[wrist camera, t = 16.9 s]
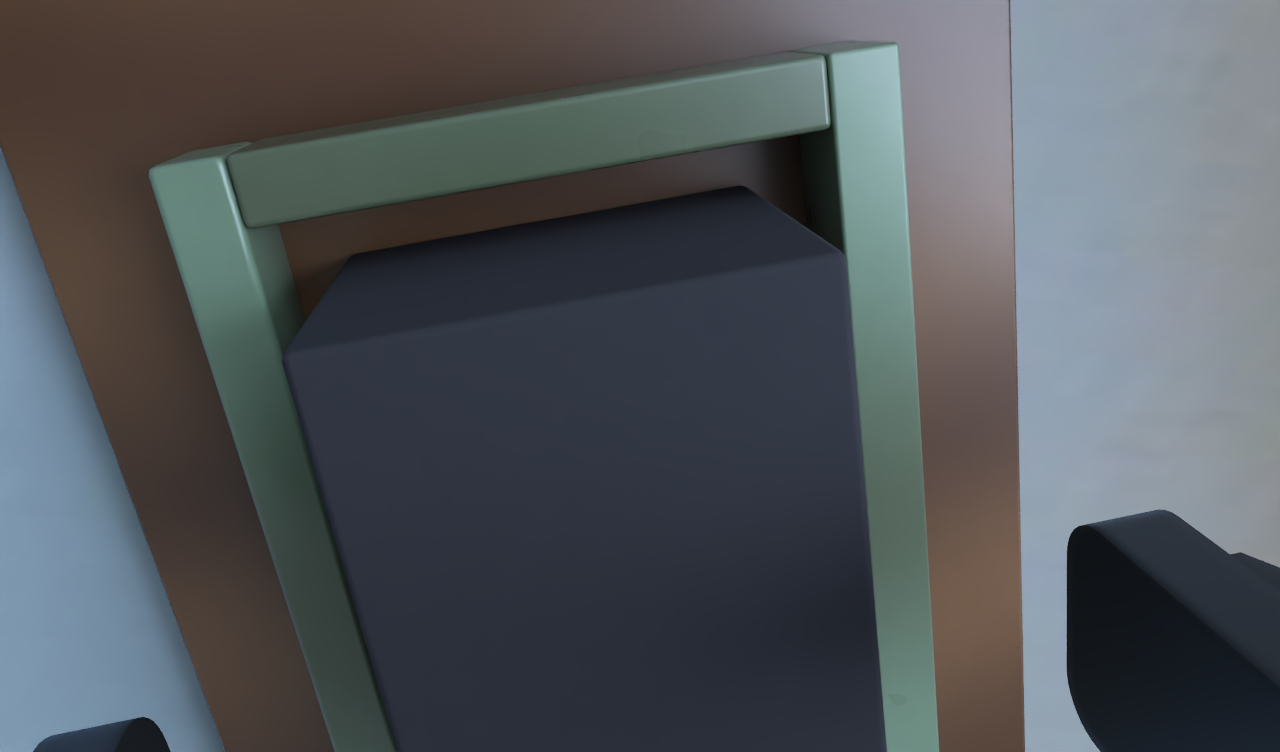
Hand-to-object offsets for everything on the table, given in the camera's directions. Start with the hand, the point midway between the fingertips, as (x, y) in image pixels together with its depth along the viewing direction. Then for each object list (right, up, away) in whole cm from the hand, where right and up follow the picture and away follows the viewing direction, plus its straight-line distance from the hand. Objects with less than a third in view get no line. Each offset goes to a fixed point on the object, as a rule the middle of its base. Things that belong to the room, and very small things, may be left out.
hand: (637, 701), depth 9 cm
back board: (-1, +2, +6) cm, 6 cm away
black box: (-1, +2, +5) cm, 5 cm away
